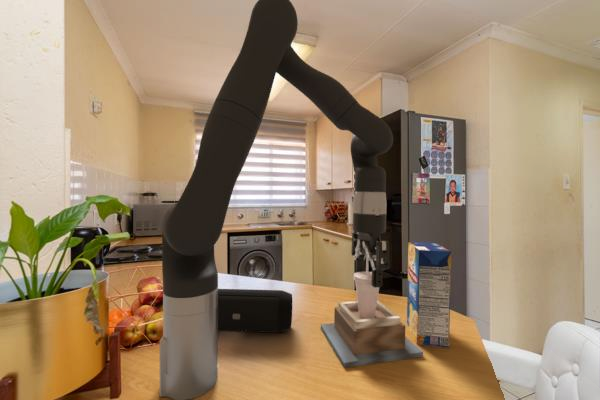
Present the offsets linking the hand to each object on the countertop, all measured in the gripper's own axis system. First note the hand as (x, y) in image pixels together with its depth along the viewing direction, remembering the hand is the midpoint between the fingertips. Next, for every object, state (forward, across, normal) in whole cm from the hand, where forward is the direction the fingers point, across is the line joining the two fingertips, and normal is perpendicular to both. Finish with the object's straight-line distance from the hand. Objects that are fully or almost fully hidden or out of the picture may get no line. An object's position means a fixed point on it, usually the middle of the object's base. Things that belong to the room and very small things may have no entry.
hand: (367, 280), depth 63 cm
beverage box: (+14, 0, +16) cm, 22 cm away
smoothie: (+9, 0, 0) cm, 9 cm away
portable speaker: (+15, -12, -29) cm, 35 cm away
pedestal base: (+14, 0, 0) cm, 15 cm away
